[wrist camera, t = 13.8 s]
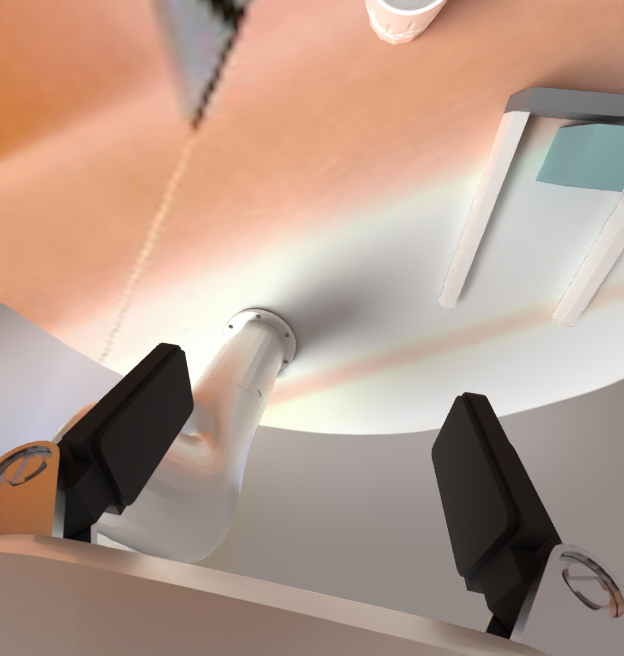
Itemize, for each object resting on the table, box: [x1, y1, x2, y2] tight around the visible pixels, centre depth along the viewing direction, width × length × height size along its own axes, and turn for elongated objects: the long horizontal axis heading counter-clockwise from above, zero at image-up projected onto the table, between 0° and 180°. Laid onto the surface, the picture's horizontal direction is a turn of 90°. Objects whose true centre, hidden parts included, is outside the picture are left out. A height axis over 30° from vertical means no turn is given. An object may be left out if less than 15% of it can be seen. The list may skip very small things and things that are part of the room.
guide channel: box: [438, 87, 624, 327], centre depth 34 cm, size 24×17×5 cm
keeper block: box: [536, 124, 624, 192], centre depth 30 cm, size 5×5×6 cm
